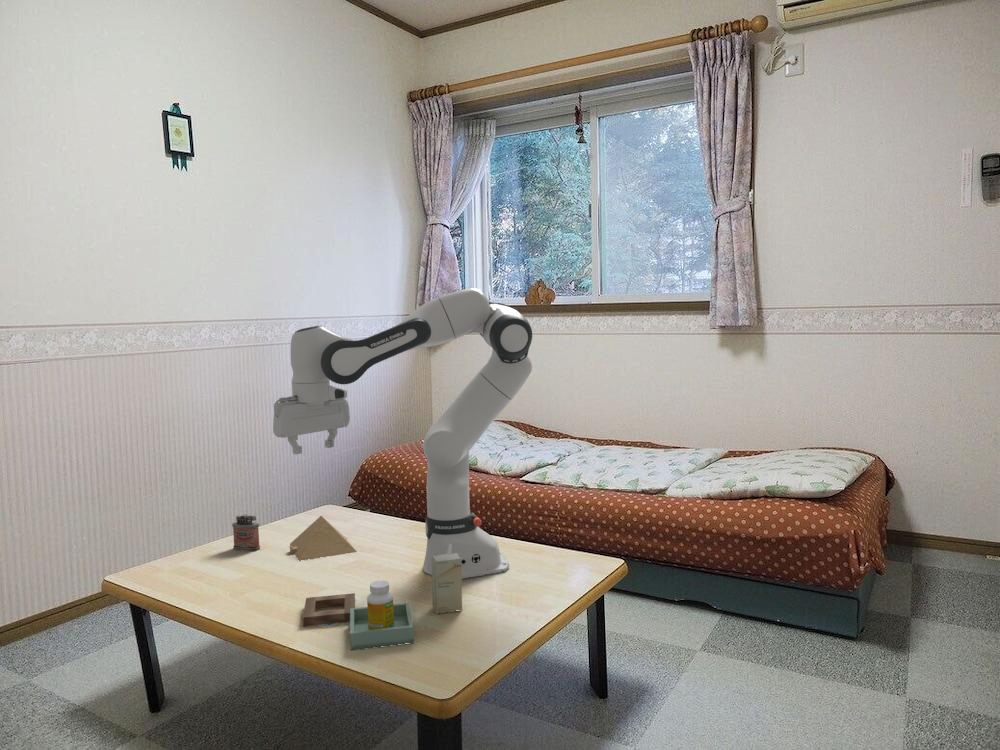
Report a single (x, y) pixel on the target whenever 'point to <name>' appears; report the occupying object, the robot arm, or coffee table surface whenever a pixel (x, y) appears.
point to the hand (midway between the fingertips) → (313, 450)
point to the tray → (381, 637)
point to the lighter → (246, 533)
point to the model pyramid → (320, 542)
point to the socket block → (328, 616)
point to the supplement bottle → (380, 606)
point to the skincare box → (446, 583)
